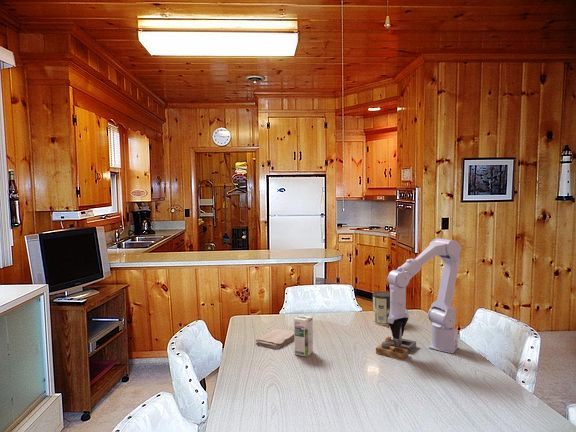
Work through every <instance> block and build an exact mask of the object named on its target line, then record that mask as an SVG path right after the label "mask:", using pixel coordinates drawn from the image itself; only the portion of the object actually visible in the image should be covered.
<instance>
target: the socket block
mask: <svg viewBox="0 0 576 432" xmlns="http://www.w3.org/2000/svg"><path fill="white" fill-rule="evenodd" d="M389 343H390V346H393V347H397V346H394V345H393V342H392V341H389ZM416 347H417V341H416V340H410V339H406V338H404V337H403V338H402V346H399V347H397V348H401V349H405V350H408V354H410V353H411V352H413V350H414V349H416Z"/></svg>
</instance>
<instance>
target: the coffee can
mask: <svg viewBox="0 0 576 432" xmlns="http://www.w3.org/2000/svg"><path fill="white" fill-rule="evenodd" d="M389 314H390V291H375V292H373V293H372V318H373V319H372V323H373V324H375V325H378V326H382V327H383V326H384V327H386V326H387V327H388V326H389V324H388V323H387V318H388V317H389Z"/></svg>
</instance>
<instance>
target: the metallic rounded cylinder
mask: <svg viewBox="0 0 576 432" xmlns="http://www.w3.org/2000/svg"><path fill="white" fill-rule="evenodd" d="M400 322H401V321H400ZM402 337H403V336H402V326H401V329H400V336H399V339H395V338H393V337H392V340H393V345H394V346H397V347H399V346H402Z"/></svg>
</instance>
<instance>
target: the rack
mask: <svg viewBox="0 0 576 432" xmlns="http://www.w3.org/2000/svg"><path fill="white" fill-rule="evenodd" d="M375 354H378V355H381V356H385V357H388V358H389V357H390V358H392V359H396V360H397V359H398V360H401V361H404V360H405V359H406V358H407V357H408V356H409V353H408V350H405V349H401V348H397V347H393V346H390V343H389V342H385V341H382V342H381V343H380V344H379V345H378V346H376V347H375Z"/></svg>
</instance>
